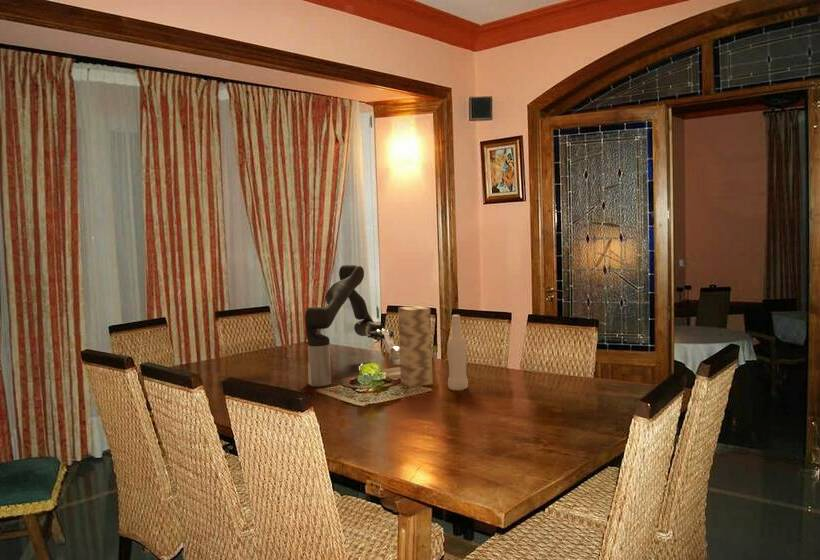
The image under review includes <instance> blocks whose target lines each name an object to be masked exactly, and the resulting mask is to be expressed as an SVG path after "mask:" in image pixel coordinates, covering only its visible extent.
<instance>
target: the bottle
mask: <svg viewBox="0 0 820 560" xmlns="http://www.w3.org/2000/svg"><path fill="white" fill-rule="evenodd" d="M461 321H462V320H461V315H460V314H453V315H451V337H450V338H449V339H448V340H447V345H446V348H447V349H446V351H447V360H448V374H449V375H448V379H447V386H448V389H449V390H451V391H465V390H466V388H467V389H468V386H469V379H468V377H467V350H468V349H467V347H468V346H467V341H466V340H465V338H464V336H462V327H461V323H462V322H461ZM464 389H465V390H464Z"/></svg>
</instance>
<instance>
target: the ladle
mask: <svg viewBox="0 0 820 560" xmlns="http://www.w3.org/2000/svg"><path fill="white" fill-rule="evenodd" d="M388 331H389V330H388V329H385V330H381V333H382V334H384V339H381V340H382V342H383V343H384V345H385V348H386V350H387V352H388V354H389V357H388V360H389V363H391V364H393V365H396V366H398V365H400V346H396V345H395V343H394V340H393V337H392V338H391V336H390V334H389V332H388Z"/></svg>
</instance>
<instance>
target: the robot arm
mask: <svg viewBox="0 0 820 560" xmlns="http://www.w3.org/2000/svg"><path fill="white" fill-rule="evenodd" d="M364 276H365V270H364V268H363V267H362V265H360V264H343V265H341V266H340V267H339V272H338V277H339V280H338V281H337V282H335V283H333V284H332V285H331V286H330V287H329V289H328V290H327V292H326V294H325V301H326V304H327V305H326V306H323V307H321V306H311V307H308V308H307V309H306V311H305V313H304V323H305V324H304V325H305V334H306V340H307V341H306V342H307V352H308V362H307V378H308V379H307V380H308V381H307V383H308V385H309V386H311V387H326V386H329V385H331V384H332V371H331V369H332V368H331V350H330V349H331V348H330V343H331V341H330V337H328V336H326V335H324V334H322V333H321V332H320V331H319V330H325V329H326V330H327V329H328V328H330V327H331V326H332V324H333V322H334V321H335V318H336V316H337V314H338V312H340V311H339V310H340V309H341V308H342V307H343V305H344V304H345V303H346V301H347V300H349V302H350V305H351V308H352V313H353V316H354V317H355V319H356V320H359V321H357V322H355V324H354V326H353V329H354V332H355V334H356V335H358V336H360V337H367V338H369V339H370V338H371V339H374V340H375V341H380V340H382V339H384V334H382V333H381V330H386V329H385V327H384V326H383V325H382V324H379V323H377V322H374V320H373V318H372V317H371V316H370V314H369V310H368V308H367V304H366V301H365V299H364V298H363V297H362V296H361V295H360V293H359V292H358V291H357V290H356V288H358V286H359V285H360V284H361V283H362V281H363V280H364ZM394 330H395V329H390V330H388V332H389V334H390V336H391V338H392V339H393V338H394V336H395V335H394V334H395V333H394Z"/></svg>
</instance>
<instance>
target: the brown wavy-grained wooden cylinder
mask: <svg viewBox="0 0 820 560" xmlns="http://www.w3.org/2000/svg"><path fill="white" fill-rule="evenodd" d="M397 311H398V312H397V316H398V336H399V337H398V339H399V347H400V364H399V365H400V366H399V367H400V372H401V380H400V382H401V381H402V382H403V383H402V382H401V383H402V384H404V383H405V384H404V385H406V384H407V385H406V386H408V385H409V386H408V387H410V386H414V387H420V386H421V387H423V386H429V385H433V360H432V359H433V358H432V357H433V355H432V330H431V329H432V325H431V324H432V323H431V322H432V321H431V320H432V319H431V308H430V307H425V306H421V305H415V306H414V305H413V306H402V307H398V308H397Z"/></svg>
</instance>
